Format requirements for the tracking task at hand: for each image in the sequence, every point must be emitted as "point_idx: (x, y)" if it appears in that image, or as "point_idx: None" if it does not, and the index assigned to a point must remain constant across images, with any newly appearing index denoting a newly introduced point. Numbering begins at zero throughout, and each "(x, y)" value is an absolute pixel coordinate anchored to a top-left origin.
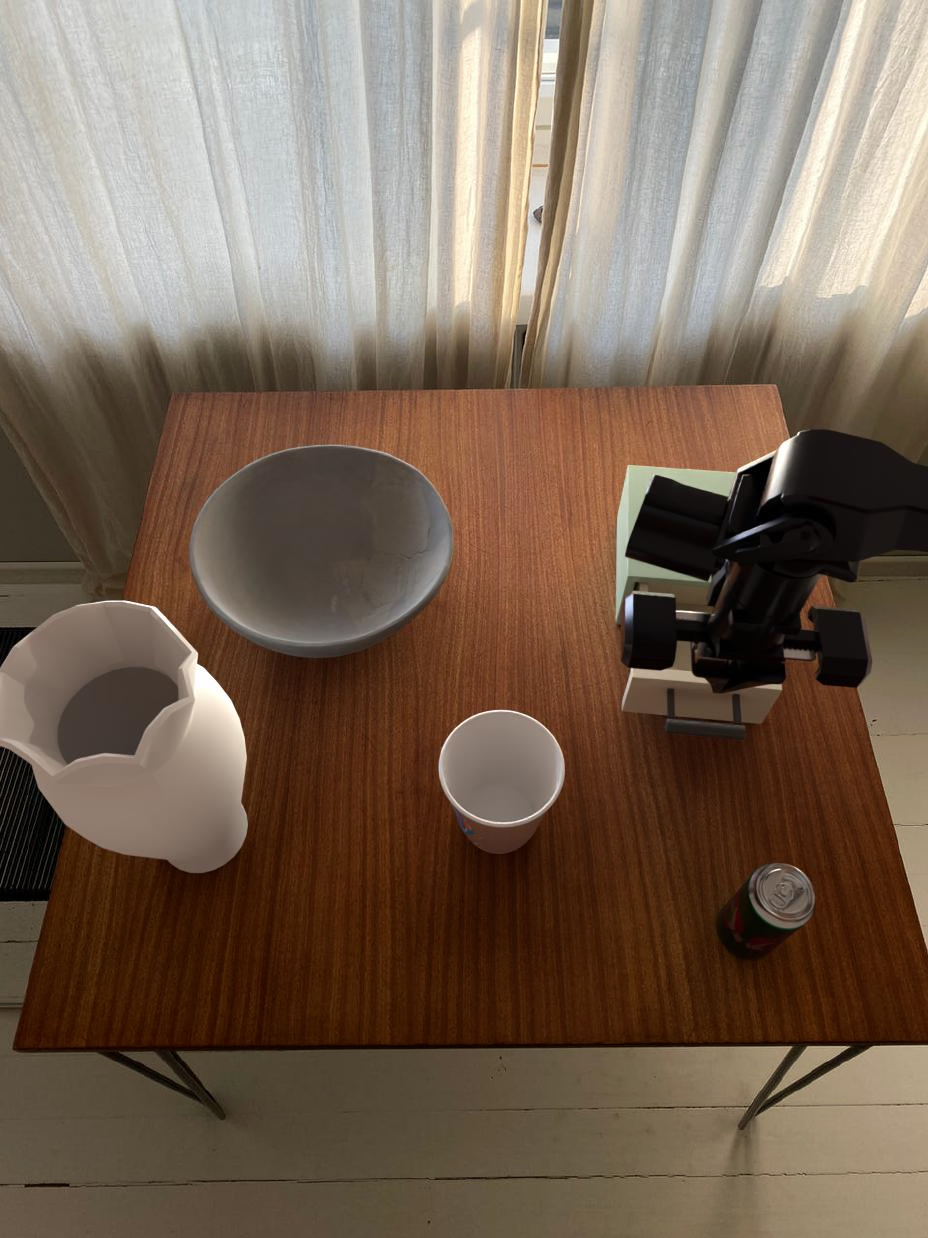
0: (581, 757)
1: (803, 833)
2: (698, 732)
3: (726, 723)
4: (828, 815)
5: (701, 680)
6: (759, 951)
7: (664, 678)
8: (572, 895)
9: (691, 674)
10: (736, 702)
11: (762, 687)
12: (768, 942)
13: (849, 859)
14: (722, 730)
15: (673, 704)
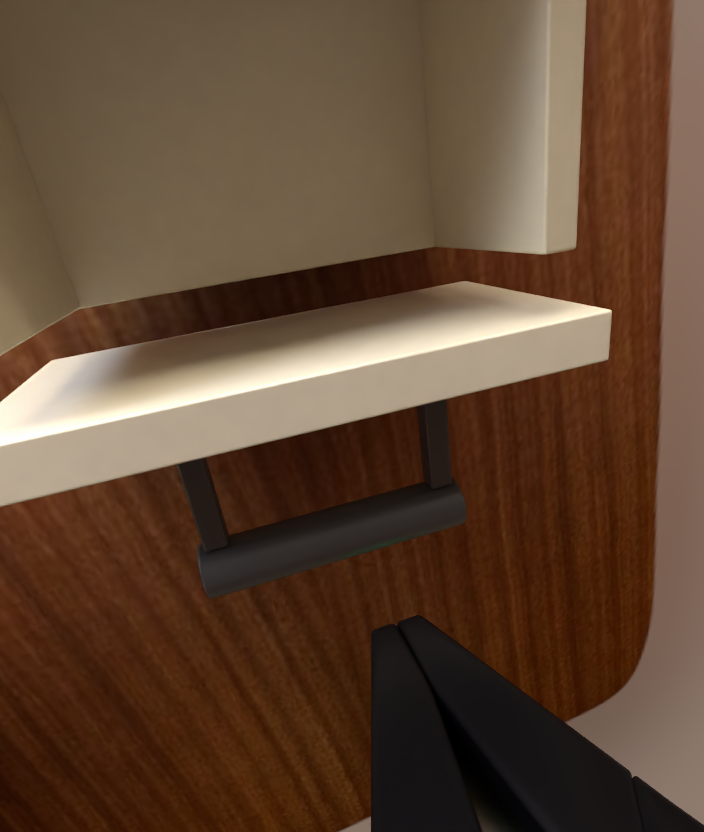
0: (11, 539)
1: (528, 513)
2: (318, 566)
3: (405, 505)
4: (575, 464)
5: (301, 422)
6: None
7: (129, 468)
8: (124, 777)
9: (252, 406)
10: (434, 413)
11: (541, 371)
12: None
13: (595, 526)
14: (395, 540)
15: (209, 499)
